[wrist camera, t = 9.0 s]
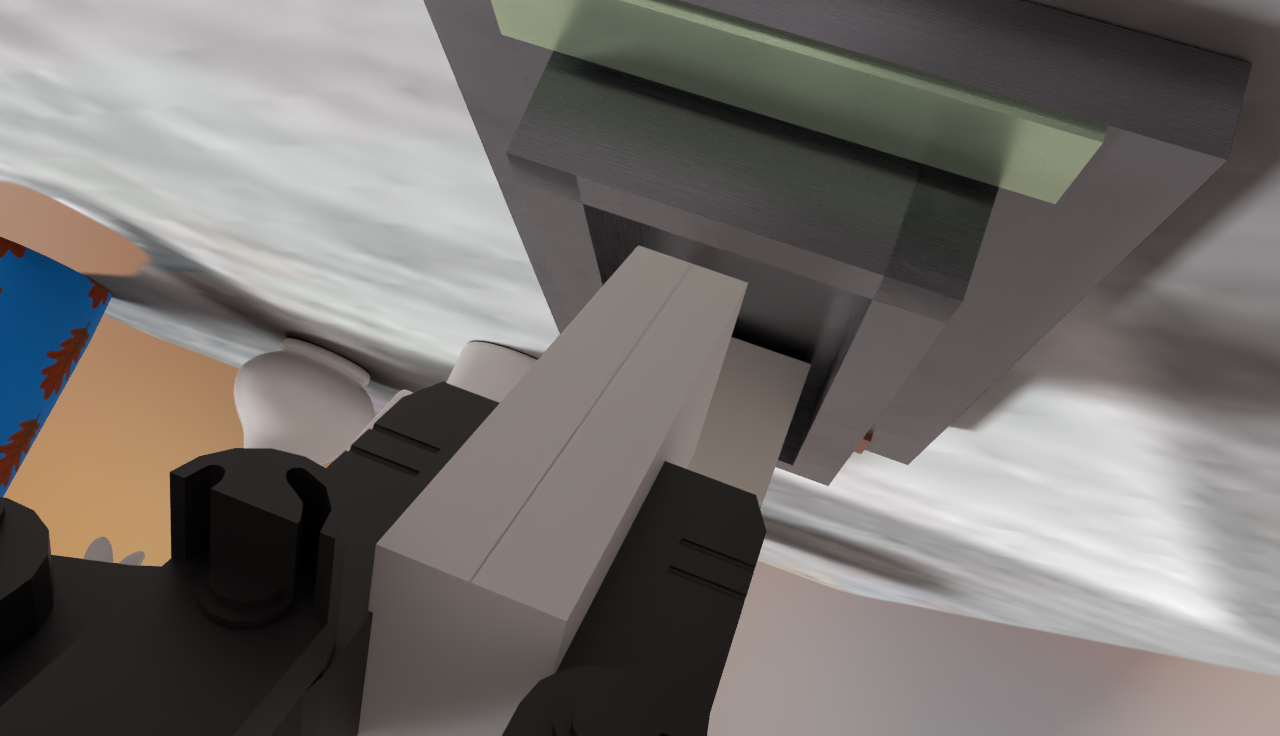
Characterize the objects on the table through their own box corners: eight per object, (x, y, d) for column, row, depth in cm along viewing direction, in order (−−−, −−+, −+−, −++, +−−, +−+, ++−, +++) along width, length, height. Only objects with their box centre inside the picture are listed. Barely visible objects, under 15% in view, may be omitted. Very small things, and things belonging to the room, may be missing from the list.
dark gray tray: (921, 422, 32) (889, 523, 31) (580, 303, 34) (540, 396, 33) (1251, 63, 13) (1193, 298, 12) (431, -163, 15) (328, 26, 14)
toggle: (796, 404, 29) (684, 721, 27) (668, 359, 30) (548, 665, 27) (811, 364, 25) (682, 731, 23) (664, 313, 26) (523, 665, 23)
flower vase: (164, 290, 66) (-36, 656, 60) (364, 345, 57) (155, 781, 51) (295, 366, 77) (138, 681, 70) (480, 421, 68) (320, 788, 62)
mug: (577, 368, 43) (465, 635, 40) (604, 411, 49) (510, 644, 46) (378, 302, 45) (259, 549, 42) (429, 351, 52) (328, 569, 49)
